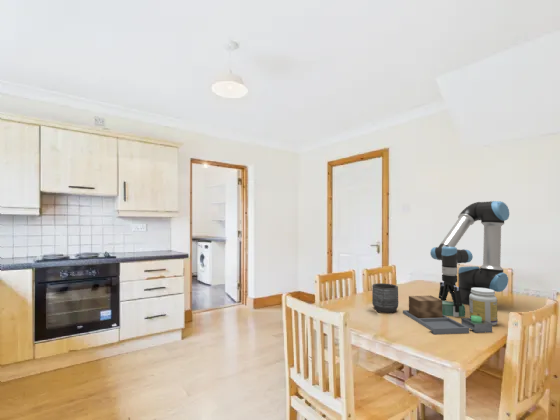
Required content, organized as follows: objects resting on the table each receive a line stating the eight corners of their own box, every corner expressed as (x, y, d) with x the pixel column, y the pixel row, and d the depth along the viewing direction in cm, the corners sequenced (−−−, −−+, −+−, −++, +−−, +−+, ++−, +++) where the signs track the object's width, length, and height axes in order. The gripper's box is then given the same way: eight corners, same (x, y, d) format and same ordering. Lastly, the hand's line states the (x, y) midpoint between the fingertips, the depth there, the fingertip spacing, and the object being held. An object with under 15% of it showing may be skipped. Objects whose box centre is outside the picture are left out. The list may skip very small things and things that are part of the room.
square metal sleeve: (478, 325, 152) (478, 317, 153) (492, 332, 144) (492, 323, 144) (461, 326, 152) (461, 318, 152) (474, 332, 143) (474, 324, 143)
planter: (399, 309, 179) (398, 284, 179) (397, 316, 166) (397, 289, 166) (374, 306, 185) (374, 282, 185) (370, 313, 172) (370, 287, 172)
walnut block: (431, 313, 169) (430, 295, 169) (442, 319, 159) (442, 300, 159) (408, 314, 167) (408, 296, 168) (418, 320, 157) (418, 300, 158)
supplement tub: (490, 319, 163) (489, 287, 163) (502, 327, 151) (502, 292, 151) (465, 317, 165) (464, 286, 165) (475, 325, 153) (475, 291, 153)
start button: (477, 323, 150) (477, 315, 150) (484, 326, 146) (483, 318, 146) (468, 323, 150) (468, 315, 150) (475, 326, 145) (475, 318, 145)
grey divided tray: (432, 313, 171) (432, 309, 171) (469, 333, 142) (469, 327, 142) (402, 314, 170) (402, 310, 170) (434, 334, 141) (433, 328, 141)
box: (465, 318, 163) (465, 304, 164) (438, 317, 166) (438, 303, 166) (460, 314, 170) (460, 301, 171) (434, 313, 173) (434, 300, 174)
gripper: (431, 271, 180) (431, 309, 179) (456, 278, 158) (456, 321, 157) (443, 271, 180) (443, 309, 180) (469, 278, 159) (470, 321, 158)
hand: (449, 315), depth 168 cm, fingers open, 9 cm apart
